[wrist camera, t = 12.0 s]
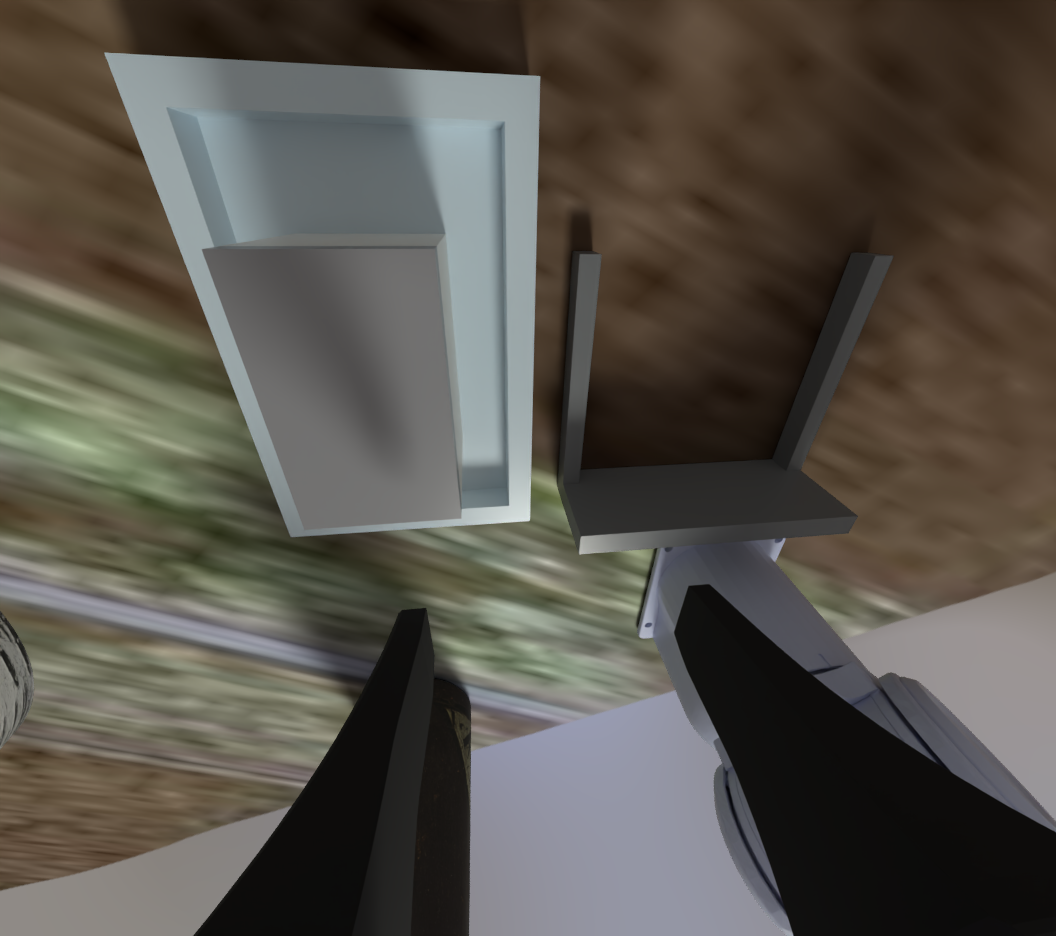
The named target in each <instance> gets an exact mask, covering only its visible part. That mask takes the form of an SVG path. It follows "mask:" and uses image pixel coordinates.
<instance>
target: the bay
mask: <svg viewBox="0 0 1056 936" xmlns="http://www.w3.org/2000/svg"><path fill="white" fill-rule="evenodd" d="M601 255H602V254H599V253H597V252H594V251H573V254H572V269H571V285H570V300H569V315H568V331H567V346H566V361H565V377H564V392H563V408H562V423H561V438H560V454H559V469H558V485H557V487H558V491H559V494H560V497H561V500H562V503H563V506H564V509H565V512H566V515H567V519H568V522H569V525H570V528H571V531H572V534H573V537H574V540H575V544H576V547H577V550H578V553H579V554H589V553H602V552H615V551H628V550H640V549H653V548H666V547H679V546H692V545H704V544H717V543H730V542H743V541H755V540H768V539H781V538H794V537H807V536H819V535H832V534H845V533H849V531H850V529H851V528H852V526H853V524H854V522H855V520H856V519H857V517H858V516H857V515H856V514H855V513H853V512H852V511H851V510H850V509H848V508H847V507H846V506H845V505H843V504H842V503H841V502H840V501H838V500H837V499H836V498H835V497H833V496H832V495H831V494H830V493H828V492H827V491H826V490H824V489H823V488H822V487H821V486H819V485H818V484H817V483H816V482H814V481H813V480H812V479H811V478H809V477H808V476H807V475H806V474H804V473H803V472H802V471H801V468H802V465H803V463H804V461H805V458H806V456H807V454H808V452H809V449H810V447H811V445H812V442H813V440H814V438H815V435H816V433H817V431H818V429H819V426H820V424H821V422H822V419H823V417H824V415H825V412H826V410H827V408H828V406H829V403H830V401H831V399H832V396H833V394H834V392H835V390H836V387H837V385H838V383H839V380H840V378H841V376H842V373H843V371H844V369H845V367H846V364H847V362H848V360H849V357H850V355H851V353H852V351H853V348H854V346H855V344H856V341H857V339H858V337H859V334H860V332H861V330H862V328H863V325H864V323H865V321H866V318H867V316H868V314H869V312H870V309H871V307H872V305H873V302H874V300H875V298H876V295H877V293H878V291H879V289H880V286H881V284H882V282H883V279H884V277H885V275H886V272H887V270H888V268H889V266H890V263H891V261H892V259H893V256H891V255H883V254H875V253H851V256H850V258H849V261H848V263H847V266H846V268H845V271H844V274H843V276H842V279H841V281H840V284H839V287H838V289H837V292H836V294H835V297H834V300H833V302H832V305H831V307H830V310H829V313H828V315H827V318H826V320H825V323H824V326H823V328H822V331H821V333H820V336H819V338H818V341H817V344H816V346H815V349H814V351H813V354H812V357H811V359H810V362H809V364H808V367H807V370H806V372H805V375H804V377H803V380H802V383H801V385H800V388H799V390H798V393H797V396H796V398H795V401H794V403H793V406H792V408H791V411H790V414H789V416H788V419H787V421H786V424H785V427H784V429H783V432H782V434H781V437H780V440H779V442H778V445H777V447H776V450H775V453H774V455H773V458H772V459H767V460H748V461H730V462H712V463H694V464H675V465H657V466H639V467H621V468H602V469H584V470H580V468H581V458H582V448H583V438H584V427H585V417H586V407H587V397H588V387H589V377H590V366H591V356H592V346H593V336H594V326H595V316H596V306H597V295H598V285H599V275H600V265H601Z"/></svg>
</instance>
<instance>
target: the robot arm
mask: <svg viewBox="0 0 1056 936" xmlns="http://www.w3.org/2000/svg"><path fill="white" fill-rule="evenodd" d="M785 539H786V538H781V539H768V540H755V541H743V542H730V543H717V544H704V545H692V546H679V547H666V548H658V549H657V553H656V557H655V561H654V565H653V569H652V573H651V577H650V581H649V585H648V589H647V593H646V597H645V601H644V606H643V610H642V614H641V618H640V622H639V626H638V630H637V633H638V635H639V637H640V638H653V639H654V641H655V643H656V646H657V648H658V650H659V653H660V655H661V657H662V660H663V662H664V664H665V667H666V669H667V671H668V674H669V676H670V678H671V681H672V683H673V685H674V688H675V690H676V692H677V695H678V697H679V699H680V702H681V704H682V706H683V708H684V711H685V713H686V716H687V718H688V719H689V721H690V723H691V725H692V726H693V728H694V729H695V730H696V732H697V733H698V734H699V735H700V736H701V738H702V739H703V740H705V741H706V742H707V743H708V744H709V745H710V746H711V747H712V748H714V749H715V750H716V751H717V752H718V754H719V756H720V759H721V761H722V763H723V764H721V765H720V766H719V767H718V768H717V769H716V772H715V775H714V796H715V797H714V799H715V800H714V801H715V808H716V814H717V819H718V822H719V826H720V829H721V832H722V835H723V838H724V841H725V843H726V845H727V848H728V850H729V853H730V855H731V857H732V859H733V861H734V864H735V865H736V868H737V870H738V871H739V873H740V875H741V877H742V879H743V881H744V882H745V884H746V886H747V887H748V889H749V891H750V892H751V894H752V895H753V897H754V898H755V900H756V901H757V903H758V904H759V905H760V907H761V908H762V910H763V911H764V912H765V913H766V915H767V916H768V917H769V918H770V919H771V921H772V922H773V923H774V924H775V925H776V926H777V927H778V928H779V929H780V930H782V932H783V933H784V934H785V935H786V936H1056V821H1055V820H1054V819H1053V818H1052V817H1051V816H1050V815H1049V813H1048V812H1047V811H1046V810H1045V809H1044V808H1043V807H1042V806H1041V805H1040V803H1039V802H1038V801H1037V800H1036V799H1035V798H1034V797H1033V796H1032V795H1031V794H1030V793H1029V792H1028V791H1027V789H1026V788H1025V787H1024V786H1023V785H1022V784H1021V783H1020V782H1019V781H1018V780H1017V779H1016V778H1015V777H1014V776H1013V775H1012V774H1011V772H1010V771H1009V770H1008V769H1007V768H1006V767H1005V766H1004V765H1003V764H1002V763H1001V762H1000V761H999V760H998V759H997V758H996V757H995V756H994V755H993V754H992V753H991V752H990V751H989V750H988V749H987V748H986V747H985V746H984V744H983V743H981V741H980V740H979V739H978V738H977V737H976V736H975V735H974V734H973V733H972V732H971V731H970V730H969V729H968V728H967V727H966V726H965V725H964V724H963V723H962V722H961V721H960V720H959V719H958V718H957V717H956V716H955V715H954V714H952V712H951V711H950V710H949V709H948V708H946V706H944V704H943V703H941V702H940V701H939V700H938V699H937V698H936V697H935V696H934V695H933V694H932V693H931V692H930V691H929V690H928V689H927V688H925V687H924V686H923V685H922V684H921V683H919V682H918V681H916V680H913V679H909V678H906V677H899V676H898V675H897V674H894V673H887V674H885V675H884V676H882V677H880V678H879V679H878V678H877V677H876V676H874V675H873V674H872V673H870V672H869V671H868V670H867V668H866V667H865V666H864V665H863V664H862V663H861V662H860V660H859V659H858V658H857V657H856V656H855V655H854V653H853V652H852V651H851V650H850V649H849V648H848V646H847V645H846V644H845V643H844V642H843V641H842V639H841V638H840V637H839V636H838V635H837V634H836V633H835V631H834V630H833V629H832V628H831V627H830V626H829V624H828V623H827V622H826V621H825V620H824V619H823V617H822V616H821V615H820V614H819V613H818V612H817V610H816V609H815V608H814V607H813V606H812V605H811V604H810V602H809V601H808V600H807V599H806V598H805V597H804V595H803V594H802V593H801V592H800V591H799V590H798V588H797V587H796V586H795V585H794V584H793V583H792V581H791V580H790V579H789V578H788V577H787V576H786V574H785V573H784V572H783V571H782V570H781V569H780V568H779V566H778V565H777V564H776V563H775V561H776V559H777V557H778V555H779V552H780V550H781V548H782V546H783V544H784V542H785ZM433 682H434V650H433V644H432V639H431V633H430V627H429V621H428V615H427V610H426V608H421V609H409V610H402V611H401V612H400V613H399V614H398V616H397V619H396V622H395V624H394V627H393V629H392V632H391V634H390V636H389V639H388V641H387V643H386V645H385V647H384V650H383V652H382V654H381V656H380V658H379V660H378V662H377V664H376V666H375V668H374V670H373V672H372V674H371V676H370V678H369V680H368V682H367V684H366V686H365V688H364V690H363V692H362V694H361V695H360V697H359V699H358V701H357V703H356V705H355V706H354V708H353V710H352V712H351V713H350V715H349V717H348V718H347V720H346V722H345V724H344V725H343V727H342V729H341V731H340V732H339V734H338V736H337V738H336V739H335V741H334V742H333V744H332V746H331V747H330V749H329V751H328V752H327V754H326V755H325V757H324V759H323V760H322V762H321V763H320V765H319V766H318V768H317V770H316V771H315V773H314V774H313V776H312V777H311V779H310V780H309V782H308V783H307V785H306V786H305V788H304V789H303V791H302V792H301V794H300V795H299V797H298V798H297V799H296V801H295V802H294V804H293V805H292V807H291V808H290V809H289V811H288V812H287V814H286V815H285V817H284V818H283V819H282V821H281V822H280V824H279V825H278V827H277V828H276V829H275V831H274V832H273V834H272V835H271V836H270V838H269V839H268V841H267V842H266V843H265V844H264V846H263V847H262V849H261V850H260V851H259V853H258V854H257V855H256V857H255V858H254V859H253V860H252V862H251V863H250V864H249V866H248V867H247V868H246V869H245V871H244V872H243V873H242V875H241V876H240V877H239V878H238V880H237V881H236V882H235V884H234V885H233V886H232V888H231V889H230V890H229V891H228V893H227V894H226V895H225V897H224V898H223V899H222V901H221V902H220V903H219V904H218V906H217V907H216V908H215V910H214V911H213V912H212V913H211V915H210V916H209V917H208V918H207V920H206V921H205V922H204V923H203V925H202V926H201V927H200V928H199V929H198V931H197V932H196V933H195V934H194V936H411V916H412V897H413V878H414V860H415V843H416V827H417V814H418V804H419V795H420V787H421V780H422V773H423V766H424V758H425V751H426V744H427V737H428V729H429V722H430V715H431V707H432V699H433Z"/></svg>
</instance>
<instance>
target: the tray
mask: <svg viewBox="0 0 1056 936" xmlns="http://www.w3.org/2000/svg"><path fill="white" fill-rule="evenodd" d="M105 56H106V59H107V61H108V64H109V66H110V69H111V72H112V74H113V77H114V79H115V82H116V85H117V87H118V90H119V92H120V95H121V98H122V100H123V103H124V105H125V108H126V111H127V113H128V116H129V118H130V121H131V124H132V126H133V129H134V131H135V134H136V137H137V139H138V142H139V144H140V147H141V150H142V152H143V155H144V157H145V160H146V163H147V165H148V168H149V170H150V173H151V176H152V178H153V181H154V183H155V186H156V189H157V191H158V194H159V196H160V199H161V202H162V204H163V207H164V209H165V212H166V215H167V217H168V220H169V222H170V225H171V228H172V230H173V233H174V235H175V238H176V241H177V243H178V246H179V248H180V251H181V254H182V256H183V259H184V261H185V264H186V267H187V269H188V272H189V274H190V277H191V280H192V282H193V285H194V287H195V290H196V293H197V295H198V298H199V300H200V303H201V305H202V308H203V311H204V313H205V316H206V318H207V321H208V324H209V326H210V329H211V331H212V334H213V337H214V339H215V342H216V344H217V347H218V350H219V352H220V355H221V357H222V360H223V363H224V365H225V368H226V370H227V373H228V376H229V378H230V381H231V383H232V386H233V389H234V391H235V394H236V396H237V399H238V402H239V404H240V407H241V409H242V412H243V415H244V417H245V420H246V422H247V425H248V428H249V430H250V433H251V435H252V438H253V441H254V443H255V446H256V448H257V451H258V454H259V456H260V459H261V461H262V464H263V467H264V469H265V472H266V474H267V477H268V480H269V482H270V485H271V487H272V490H273V493H274V495H275V498H276V500H277V503H278V506H279V508H280V511H281V513H282V516H283V519H284V521H285V524H286V526H287V529H288V532H289V534H290V537H301V536H316V535H330V534H345V533H360V532H374V531H389V530H404V529H418V528H433V527H448V526H463V525H477V524H492V523H507V522H521V521H530V495H531V451H532V408H533V364H534V321H535V278H536V234H537V191H538V147H539V104H540V76H527V75H508V74H490V73H471V72H453V71H434V70H416V69H397V68H379V67H360V66H342V65H323V64H305V63H286V62H267V61H249V60H230V59H212V58H193V57H175V56H156V55H138V54H119V53H105ZM295 233H370V234H446V243H447V254H448V266H449V278H450V290H451V301H452V313H453V325H454V337H455V348H456V360H457V372H458V384H459V395H460V407H461V419H462V431H463V457H462V515H461V519H449V520H435V521H421V522H407V523H393V524H379V525H365V526H351V527H337V528H323V529H309V530H304V528H303V525H302V522H301V519H300V517H299V514H298V511H297V509H296V506H295V503H294V500H293V498H292V495H291V492H290V489H289V487H288V484H287V481H286V479H285V476H284V473H283V470H282V468H281V465H280V462H279V459H278V457H277V454H276V451H275V449H274V446H273V443H272V440H271V438H270V435H269V432H268V429H267V427H266V424H265V421H264V419H263V416H262V413H261V410H260V408H259V405H258V402H257V399H256V397H255V394H254V391H253V389H252V386H251V383H250V380H249V378H248V375H247V372H246V369H245V367H244V364H243V361H242V359H241V356H240V353H239V350H238V348H237V345H236V342H235V339H234V337H233V334H232V331H231V329H230V326H229V323H228V320H227V318H226V315H225V312H224V309H223V307H222V304H221V301H220V299H219V296H218V293H217V290H216V288H215V285H214V282H213V279H212V277H211V274H210V271H209V269H208V266H207V263H206V260H205V258H204V255H203V252H202V249H206V248H212V247H218V246H223V245H229V244H235V243H241V242H247V241H253V240H259V239H265V238H271V237H277V236H283V235H289V234H295Z"/></svg>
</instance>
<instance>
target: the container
mask: <svg viewBox="0 0 1056 936" xmlns="http://www.w3.org/2000/svg"><path fill="white" fill-rule="evenodd" d="M470 766H471V705H470V701H469V699H468V697H467V696H466V694H465V693H464V692H463V691H462V690H460V689H459V688H458V687H456V686H454V685H453V684H451V683H448V682H446V681H442V680H439V679H434V682H433V699H432V707H431V715H430V722H429V729H428V737H427V744H426V751H425V758H424V766H423V773H422V780H421V787H420V795H419V804H418V814H417V827H416V843H415V860H414V878H413V897H412V916H411V936H469V898H470V895H469V894H470V776H471V775H470V774H471V767H470Z"/></svg>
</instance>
